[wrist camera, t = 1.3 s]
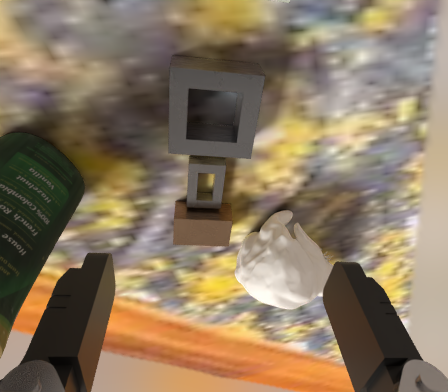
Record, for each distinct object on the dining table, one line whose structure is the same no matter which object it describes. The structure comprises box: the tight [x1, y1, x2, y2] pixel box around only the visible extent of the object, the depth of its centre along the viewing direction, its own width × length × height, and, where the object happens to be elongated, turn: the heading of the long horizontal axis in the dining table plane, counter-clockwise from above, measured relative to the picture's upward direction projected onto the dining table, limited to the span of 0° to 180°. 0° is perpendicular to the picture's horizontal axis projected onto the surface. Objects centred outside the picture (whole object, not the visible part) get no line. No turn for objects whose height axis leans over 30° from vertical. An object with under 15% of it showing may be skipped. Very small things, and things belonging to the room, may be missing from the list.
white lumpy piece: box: [235, 210, 333, 309], centre depth 31 cm, size 6×8×12 cm
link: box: [168, 55, 265, 159], centre depth 24 cm, size 6×6×3 cm
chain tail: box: [173, 156, 233, 246], centre depth 29 cm, size 5×8×2 cm, turn 174°
